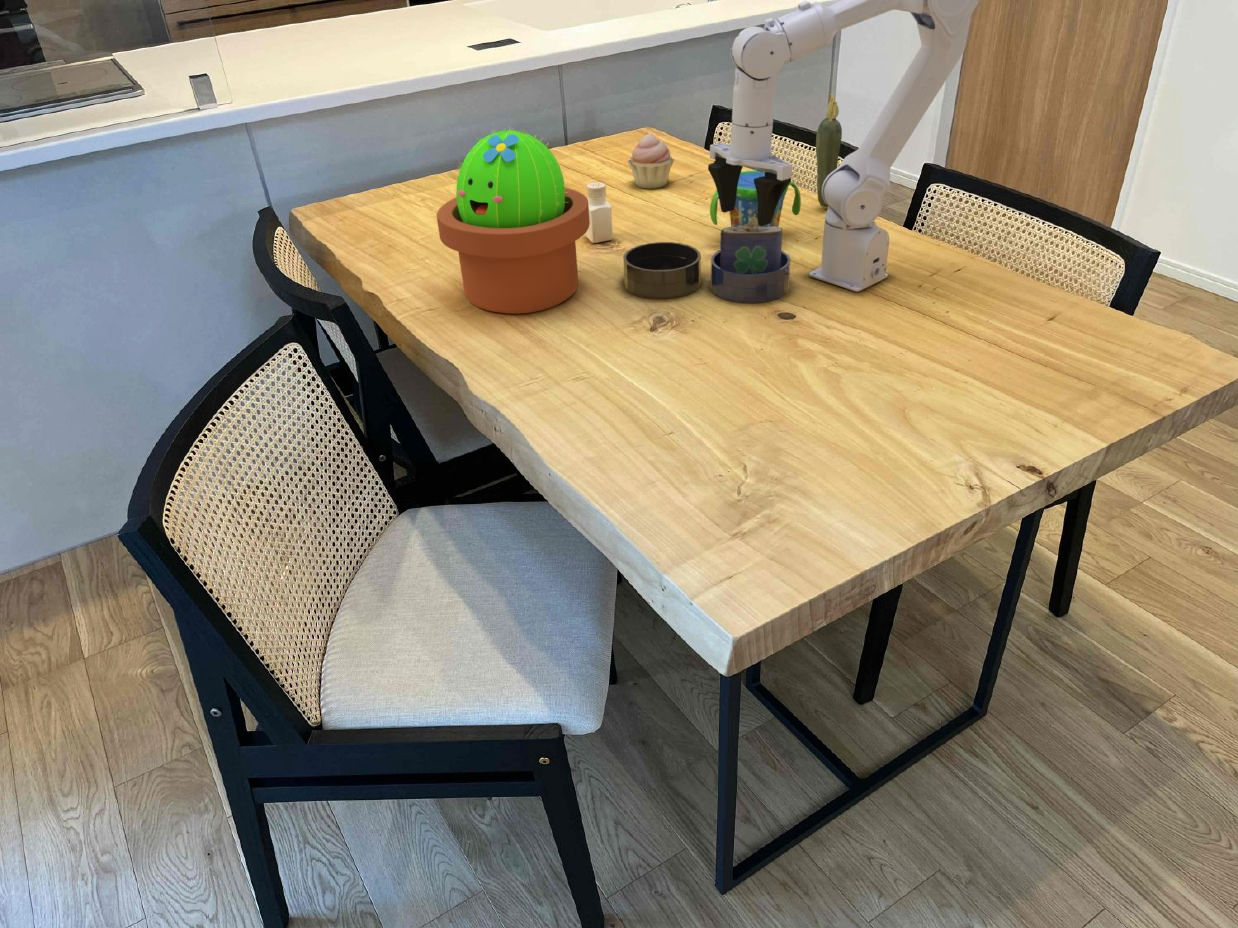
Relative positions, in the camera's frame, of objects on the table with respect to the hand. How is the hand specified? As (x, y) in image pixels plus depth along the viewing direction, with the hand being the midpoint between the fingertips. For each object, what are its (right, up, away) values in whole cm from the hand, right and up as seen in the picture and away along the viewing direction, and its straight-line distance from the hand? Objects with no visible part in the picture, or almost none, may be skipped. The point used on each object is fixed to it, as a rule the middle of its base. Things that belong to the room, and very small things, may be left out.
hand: (745, 217), depth 138 cm
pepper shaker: (-22, +3, +26) cm, 34 cm away
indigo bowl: (+1, -9, +6) cm, 11 cm away
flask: (+1, -9, +6) cm, 11 cm away
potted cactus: (-34, -10, +8) cm, 36 cm away
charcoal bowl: (-12, -8, +8) cm, 17 cm away
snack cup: (+4, +2, +23) cm, 23 cm away
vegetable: (+19, +10, +33) cm, 39 cm away
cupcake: (-12, +20, +50) cm, 55 cm away
